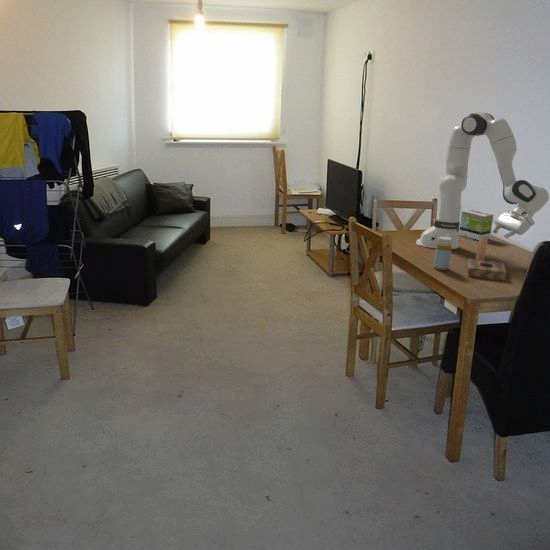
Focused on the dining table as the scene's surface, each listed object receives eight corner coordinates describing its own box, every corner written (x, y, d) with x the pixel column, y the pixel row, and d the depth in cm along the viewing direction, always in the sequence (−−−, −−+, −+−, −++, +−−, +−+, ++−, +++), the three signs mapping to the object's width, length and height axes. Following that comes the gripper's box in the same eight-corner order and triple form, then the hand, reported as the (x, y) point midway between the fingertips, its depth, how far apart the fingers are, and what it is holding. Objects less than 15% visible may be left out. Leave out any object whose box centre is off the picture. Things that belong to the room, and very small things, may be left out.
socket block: (467, 276, 256) (468, 267, 255) (466, 266, 271) (468, 258, 269) (504, 280, 252) (506, 272, 251) (502, 270, 266) (503, 262, 265)
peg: (475, 264, 275) (479, 238, 271) (474, 262, 279) (479, 236, 275) (483, 265, 274) (488, 239, 270) (483, 263, 278) (487, 237, 274)
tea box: (457, 235, 331) (461, 210, 327) (468, 233, 337) (471, 209, 333) (479, 241, 320) (484, 215, 315) (490, 239, 326) (494, 214, 321)
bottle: (446, 271, 261) (450, 240, 256) (431, 268, 265) (435, 238, 260) (450, 268, 267) (454, 237, 262) (435, 265, 270) (439, 235, 266)
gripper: (504, 206, 281) (484, 225, 282) (530, 215, 262) (508, 235, 263) (510, 215, 284) (490, 234, 285) (537, 224, 265) (515, 244, 266)
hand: (499, 235), depth 274 cm, fingers open, 8 cm apart
